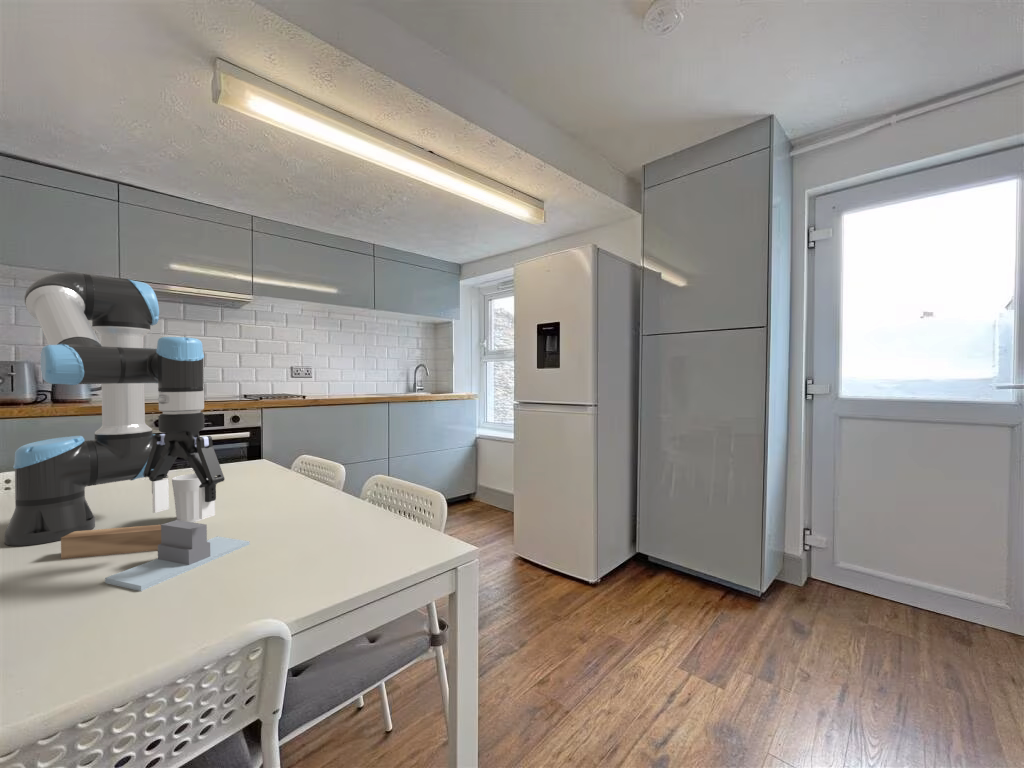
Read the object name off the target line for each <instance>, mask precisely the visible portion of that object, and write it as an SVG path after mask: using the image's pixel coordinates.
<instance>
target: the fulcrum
mask: <svg viewBox="0 0 1024 768" xmlns="http://www.w3.org/2000/svg"><path fill="white" fill-rule="evenodd" d="M160 525H161V544H159V545H158V550H157V558H155V559H152V560H150V561H147V562H144V563H142V564H139V565H136V566H133V567H132V568H128V569H125V570H123V571H119V572H117V573H114V574H111V575H108V576H107V577H104V583H105V584H108V585H113V586H116V587H117V586H118V587H122V588H126V589H130V590H134V591H139V592H142V591H145V590H148V589H149V588H151V587H154V586H157V585H159V584H160V583H164V582H166V581H168V580H170V579H173V578H175V577H178V576H179V575H183V574H184V573H186V572H189V571H191V570H194V569H196V568H198V567H201V566H204V565H205V564H208V563H210V562H212V560H213V561H216V560H217V559H219V557H220V558H222V557H223V556H226V554H227V555H229V554H231V553H233V551H234V552H236V551H238V550H241V549H242V547H243V548H245V547H247V546H250V545H251V544H250V541H248V540H243V539H238V538H237V539H236V538H230V537H223V536H219V535H217V536H215V537H212V538H210V539H208V536H207V535H208V529H207V528H208V527H207V526H208V525H207V524H205V523H199V522H186V521H179V520H176V519H175V520H171V521H169V522H166V523H162V524H160ZM235 550H236V551H235Z"/></svg>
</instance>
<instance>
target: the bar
mask: <svg viewBox="0 0 1024 768" xmlns="http://www.w3.org/2000/svg"><path fill="white" fill-rule="evenodd" d="M159 544H161V524H152V525H150V524H149V525H141V526H140V525H138V526H128V527H125V526H124V527H114V528H113V527H112V528H100V529H92V530H85V531H74V532H72V533H70V534H68V535H66V536H64V537H62V538H61V540H60V555H61V556H60V557H61V558H60V559H61V560H66V559H67V560H68V559H78V558H88V557H98V556H99V557H101V556H109V555H111V556H112V555H119V554H120V555H121V554H129V553H131V554H132V553H139V552H140V553H141V552H143V553H144V552H151V551H158V545H159Z"/></svg>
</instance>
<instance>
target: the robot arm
mask: <svg viewBox="0 0 1024 768" xmlns="http://www.w3.org/2000/svg"><path fill="white" fill-rule="evenodd" d="M24 304H25V307H26V310H27V311H28V312H29V314H30V315H31V316H32V317H33V318H35V319H36V320H37V321H38V323H39V325H40V328H41V330H42V333H43V334H44V337H45V339H46V342H47V345H45V346H43V347H42V348H41V351H40V371H41V378H42V379H43V381H44V382H46V383H47V384H51V385H55V384H56V385H69V386H74V385H75V386H76V385H99V384H101V421H102V424H101V426H100V427H99V428H98V429H97V430H95V431H94V439H92V440H85V437H84V436H83V435H71V436H69V435H68V436H63V437H62V436H61V437H55V438H54V437H53V438H49V439H44V440H38V441H35V442H34V441H33V442H30V443H26V444H24V445H21V446H20V447H18V448H17V449H16V450H15V452H14V462H13V463H14V464H13V466H12V467H13V469H14V492H15V493H14V495H15V497H14V500H15V508H14V511H13V513H12V516H11V518H10V520H9V523H8V525H7V527H6V530H5V532H4V544H5V545H6V546H13V547H18V546H19V547H21V546H22V547H23V546H34V545H40V544H42V545H43V544H47V543H53V542H57V541H61V538H62V537H64V536H66V535H68V534H70V533H72V532H74V531H85V530H94V529H95V528H96V519H95V518H96V517H95V515H94V513H93V512H92V510H91V508H90V505H89V504H88V501H87V500H86V495H85V494H86V493H85V491H86V490H85V489H86V487H90V486H91V487H92V486H97V485H98V486H99V485H105V484H111V483H117V482H123V481H124V482H125V481H134V480H138V479H142V478H148V479H149V481H150V482H151V494H152V513H153V514H154V513H155V514H156V513H159V512H163V511H168V510H169V509H170V497H169V495H170V494H169V493H170V488H169V479H168V478H169V476H168V474H169V472H170V470H171V468H172V467H173V465H174V463H175V462H176V460H177V459H178V458H180V459H184V461H186V462H188V464H189V465H190V467H191V468H192V470H193V473H195V474H196V475H197V477H198V479H199V480H200V482H201V485H200V486H199V519H203V520H204V519H208V518H211V517H214V516H216V499H217V484H218V483H222V482H225V475H224V474H223V470H222V467H221V465H220V462H219V460H218V458H217V454H216V452H215V449H214V443H213V438H212V436H211V435H205V436H200V431H202V430H204V429H205V413H203V412H202V411H203V410H204V409H205V391H204V389H205V388H204V358H205V354H204V349H203V347H204V346H203V341H201V340H200V339H199V338H195V337H184V336H183V337H182V336H163V337H162V336H161V337H160V338H158V339H157V345H156V348H151V347H149V348H147V347H146V348H144V342H145V341H144V337H145V336H147V334H148V333H150V332H151V326H155V325H158V322H159V318H160V317H159V316H160V307H159V301H158V297H157V295H156V292H155V290H154V289H153V287H152V286H150V284H148V283H146V282H142V281H137V280H132V279H129V278H121V277H120V278H119V277H111V276H103V275H96V274H89V273H88V274H87V273H81V272H68V271H67V272H57V273H53V274H48V275H46V276H44V277H41V278H39V279H37V280H36V281H34V282H33V283H32V284H30V286H29V287H28V288H27V289H26V291H25V294H24ZM90 322H91V323H90ZM91 324H92V325H91ZM95 331H96V332H97V333H98V334H99V335H100V340H99V338H98V336H97V334H96V332H95ZM145 384H157V385H158V387H157V389H158V390H157V392H158V397H157V401H158V411H159V412H162V413H160V414H159V415H158V432H160V434H159V433H158V434H155V433H153V428H151V427H150V426H149V425H147V423H146V413H145V410H146V407H145V403H146V402H145V401H146V400H145V397H146V396H145ZM207 479H208V480H207Z"/></svg>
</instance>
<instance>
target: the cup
mask: <svg viewBox="0 0 1024 768" xmlns="http://www.w3.org/2000/svg"><path fill="white" fill-rule="evenodd" d="M207 480H208V479H207ZM171 484H172V491H173V500H174V509H175V517H176V519H175V520H179V521H186V522H193V523H198V522H199V521H203V520H204V519H199V486H200V485H201V482H200V480H199V479H198V477H197V475H196V474H195V472H193V473H186V474H181V475H177V476H174V477H172V478H171Z"/></svg>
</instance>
